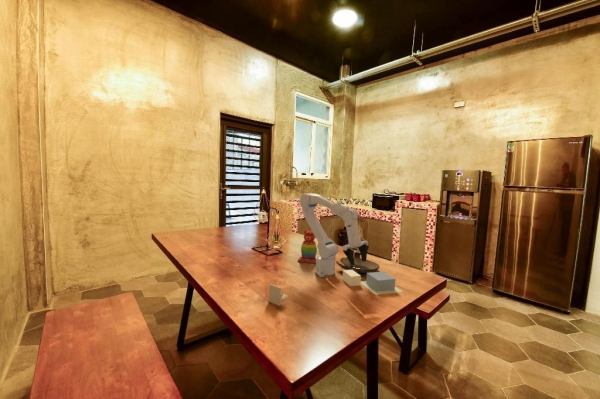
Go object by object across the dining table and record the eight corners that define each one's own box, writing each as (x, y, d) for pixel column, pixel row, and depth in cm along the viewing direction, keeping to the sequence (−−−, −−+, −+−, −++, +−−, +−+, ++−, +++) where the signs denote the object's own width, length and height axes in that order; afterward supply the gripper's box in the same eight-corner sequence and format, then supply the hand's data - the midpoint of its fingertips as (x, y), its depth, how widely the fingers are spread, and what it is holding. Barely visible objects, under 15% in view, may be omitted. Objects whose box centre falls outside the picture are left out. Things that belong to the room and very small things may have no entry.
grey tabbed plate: (274, 299, 105) (275, 281, 104) (287, 304, 100) (288, 286, 100) (268, 302, 102) (269, 284, 101) (281, 308, 98) (282, 289, 97)
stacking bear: (296, 262, 150) (298, 231, 148) (301, 257, 160) (303, 228, 158) (315, 264, 147) (316, 233, 145) (319, 259, 157) (320, 230, 155)
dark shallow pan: (328, 273, 135) (329, 258, 135) (349, 259, 160) (350, 246, 160) (370, 284, 123) (371, 268, 123) (386, 267, 149) (387, 254, 148)
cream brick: (350, 288, 117) (351, 276, 117) (342, 281, 125) (342, 270, 124) (360, 287, 119) (360, 275, 118) (351, 280, 126) (352, 269, 126)
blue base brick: (377, 291, 112) (377, 280, 112) (366, 283, 121) (366, 272, 121) (394, 289, 115) (395, 278, 115) (382, 281, 124) (383, 271, 123)
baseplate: (375, 297, 109) (375, 294, 109) (358, 283, 123) (358, 281, 123) (403, 294, 114) (403, 291, 113) (383, 281, 127) (384, 279, 127)
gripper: (347, 236, 116) (352, 267, 115) (370, 231, 123) (375, 260, 122) (337, 236, 122) (342, 265, 121) (360, 232, 129) (364, 259, 128)
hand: (358, 262), depth 122 cm, fingers open, 7 cm apart
